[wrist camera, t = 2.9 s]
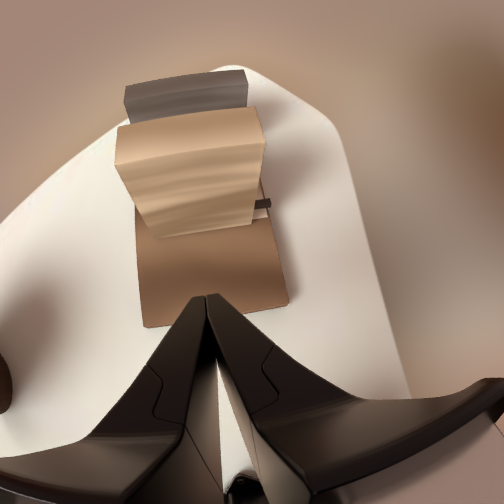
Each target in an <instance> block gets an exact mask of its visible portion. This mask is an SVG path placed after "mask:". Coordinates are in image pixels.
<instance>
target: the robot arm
mask: <svg viewBox="0 0 504 504" xmlns="http://www.w3.org/2000/svg"><path fill="white" fill-rule="evenodd" d="M216 359H217V361H216ZM217 364H218V367H219V371H220V374H221V377H222V380H223V383H224V386H225V389H226V392H227V395H228V397H229V400H230V403H231V406H232V409H233V412H234V415H235V417H236V420H237V423H238V426H239V428H240V431H241V434H242V437H243V439H244V442H245V445H246V447H247V450H248V452H249V455H250V458H251V460H252V463H253V465H254V468H255V470H256V473H257V475H258V478H259V479H256V478H253V477H250V476H247V475H244V474H238V475H236V476H235V477H234V478H233V480H232V482H231V484H230V486H229V487H228V489H227V491H226V493H223V482H222V467H221V450H220V430H219V407H218V378H217ZM503 413H504V378H484V379H481V380H479V381H477V382H475V383H474V384H472V385H471V386H469V387H467V388H466V389H464V390H462V391H460V392H457V393H454V394H451V395H447V396H442V397H435V398H423V399H400V400H367V399H362V398H359V397H356V396H354V395H351V394H349V393H347V392H345V391H344V390H342V389H340V388H339V387H337V386H335V385H334V384H332V383H330V382H329V381H327V380H325V379H324V378H322V377H320V376H319V375H317V374H315V373H314V372H312V371H311V370H309V369H308V368H306V367H305V366H303V365H302V364H300V363H299V362H297V361H296V360H294V359H293V358H292V357H291V356H289V355H288V354H287V353H286V352H284V351H283V350H282V349H281V348H280V347H279V346H277V345H276V344H275V343H274V342H273V341H272V340H270V339H269V338H268V337H267V336H266V335H265V334H264V333H262V332H261V331H260V330H259V329H258V328H257V327H256V326H255V325H253V324H252V323H251V322H250V321H249V320H248V319H247V318H246V317H245V316H243V315H242V314H241V313H240V312H239V311H238V310H237V309H236V308H235V307H233V306H232V305H231V304H230V303H229V302H228V301H227V300H226V299H225V298H224V297H223V296H222V295H220V294H219V293H214V294H208V295H206V298H205V296H204V295H201V296H195V297H192V298H191V299H190V300H189V301H188V303H187V304H186V306H185V307H184V309H183V310H182V312H181V313H180V314H179V316H178V317H177V319H176V320H175V322H174V323H173V325H172V326H171V328H170V329H169V330H168V332H167V333H166V335H165V336H164V338H163V339H162V341H161V342H160V344H159V345H158V347H157V348H156V350H155V351H154V353H153V354H152V355H151V357H150V358H149V360H148V361H147V363H146V365H145V366H144V367H143V369H142V370H141V372H140V373H139V375H138V376H137V377H136V379H135V380H134V382H133V383H132V384H131V386H130V387H129V388H128V389H127V391H126V392H125V393H124V394H123V396H122V397H121V398H120V399H119V400H118V402H117V403H116V404H115V405H114V406H113V407H112V409H111V410H110V411H109V412H108V413H107V414H106V416H105V417H104V418H103V419H102V420H101V421H100V423H99V424H98V425H97V426H96V427H95V428H94V429H93V430H92V432H91V433H89V434H88V435H87V436H86V437H84V438H83V439H81V440H79V441H77V442H75V443H72V444H68V445H64V446H61V447H57V448H53V449H48V450H44V451H40V452H35V453H30V454H26V455H20V456H15V457H4V458H0V504H504V435H503V434H502V432H501V431H500V430H499V428H498V427H497V426H496V424H495V422H496V421H497V420H498V419H499V418H500V416H501V415H502V414H503ZM238 479H243V480H244V481H243V482H238V481H237V480H238Z"/></svg>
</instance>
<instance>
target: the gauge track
mask: <svg viewBox="0 0 504 504" xmlns="http://www.w3.org/2000/svg"><path fill="white" fill-rule="evenodd" d="M247 94H248V81H247V78H246V75H245V72H244V69H243V70H228V71H217V72H207V73H199V74H190V75H183V76H177V77H170V78H164V79H158V80H153V81H148V82H143V83H138V84H133V85H129V86H126V89H125V96H124V105H125V108H126V111H127V114H128V117H129V120H130V123H131V124H134V123H138V122H143V121H148V120H154V119H159V118H165V117H171V116H177V115H183V114H190V113H197V112H205V111H213V110H222V109H232V108H243V107H246V105H247ZM260 199H265V196H264V192H263V188H262V184H261V180H260V177H259V183H258V189H257V194H256V200H260ZM135 233H136V253H137V268H138V280H139V291H140V301H141V310H142V319H143V327H146V328H155V327H163V326H170V325H173V323H174V322H175V320H176V319H177V317H178V316H179V314H180V313H181V312H182V310H183V309H184V307H185V306H186V304H187V303H188V301H189V300H190V299H191V298H192V297H195V296H201V295H204V296H205V298H206V295H208V294H214V293H219V294H220V295H222V296H223V297H224V298H225V299H226V300H227V301H228V302H229V303H230V304H231V305H232V306H233V307H235V308H236V309H237V310H238V311H239V312H240V313H241V314H247V313H252V312H258V311H263V310H268V309H274V308H279V307H284V306H287V305H288V304H289V299H288V295H287V290H286V286H285V281H284V277H283V272H282V268H281V264H280V259H279V255H278V251H277V246H276V242H275V238H274V234H273V229H272V225H271V221H270V217H269V213H268V208H263V209H255V210H254V211H253V217H252V223H251V224H249V225H242V226H236V227H229V228H222V229H216V230H209V231H203V232H196V233H190V234H183V235H177V236H171V237H165V238H159V239H154V237H153V236H152V234H151V232H150V230H149V229H148V227H147V225H146V223H145V222H144V220H143V218H142V216H141V214H140V213H139V211H138V209H137V207H136V205H135Z"/></svg>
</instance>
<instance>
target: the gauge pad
mask: <svg viewBox="0 0 504 504" xmlns="http://www.w3.org/2000/svg"><path fill="white" fill-rule="evenodd" d="M265 144H266V142H265V138H264V135H263V131H262V128H261V125H260V121H259V118H258V115H257V111H256V108H255V107H243V108H232V109H222V110H213V111H205V112H197V113H190V114H183V115H177V116H171V117H165V118H159V119H154V120H148V121H143V122H138V123H134V124H129V125H124V126H120V127H118V130H117V140H116V151H115V164H114V166H115V168H116V169H117V171H118V173H119V175H120V177H121V179H122V181H123V183H124V185H125V187H126V189H127V191H128V192H129V194H130V196H131V198H132V200H133V202H134V204H135V205H136V207H137V209H138V211H139V213H140V214H141V216H142V218H143V220H144V222H145V223H146V225H147V227H148V229H149V230H150V232H151V234H152V236H153V237H154V239H159V238H165V237H171V236H177V235H183V234H190V233H196V232H203V231H209V230H216V229H222V228H229V227H236V226H242V225H249V224H251V223H252V217H253V211H254V210H255V209H263V208H270V207H271V201H270V198H268V199H260V200H256V194H257V189H258V183H259V177H260V172H261V166H262V160H263V155H264V149H265Z"/></svg>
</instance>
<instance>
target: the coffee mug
mask: <svg viewBox="0 0 504 504" xmlns="http://www.w3.org/2000/svg"><path fill="white" fill-rule="evenodd" d="M11 400H12V380H11V375H10V372H9V369H8V366H7V364H6V362H5V360H4V358H3V357H2V355H1V354H0V414H2V413H4V412H6V410H7V409H8V408H9V406H10V404H11Z"/></svg>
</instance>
